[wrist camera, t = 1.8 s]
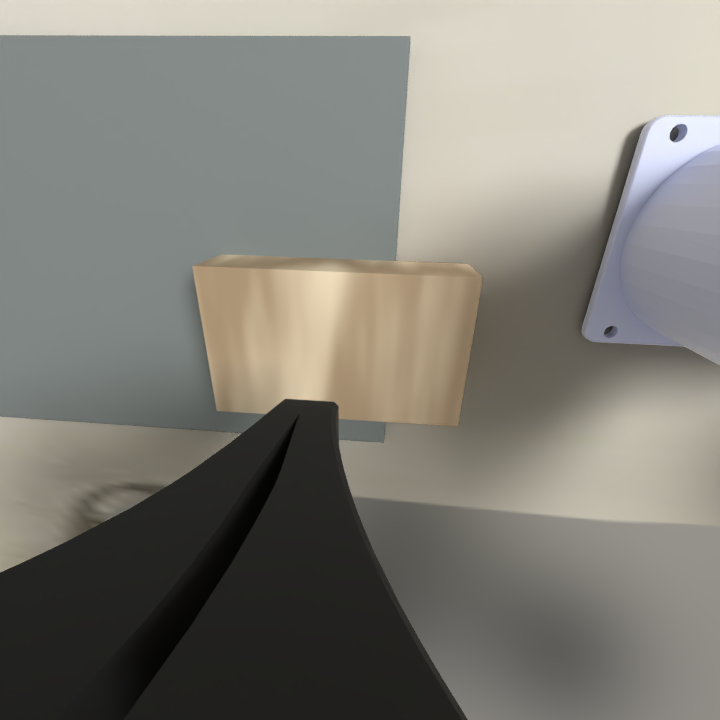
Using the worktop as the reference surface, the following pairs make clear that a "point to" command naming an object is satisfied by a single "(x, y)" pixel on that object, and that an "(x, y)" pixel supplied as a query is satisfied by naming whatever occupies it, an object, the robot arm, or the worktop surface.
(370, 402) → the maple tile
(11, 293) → the rubber mat
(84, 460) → the worktop surface
